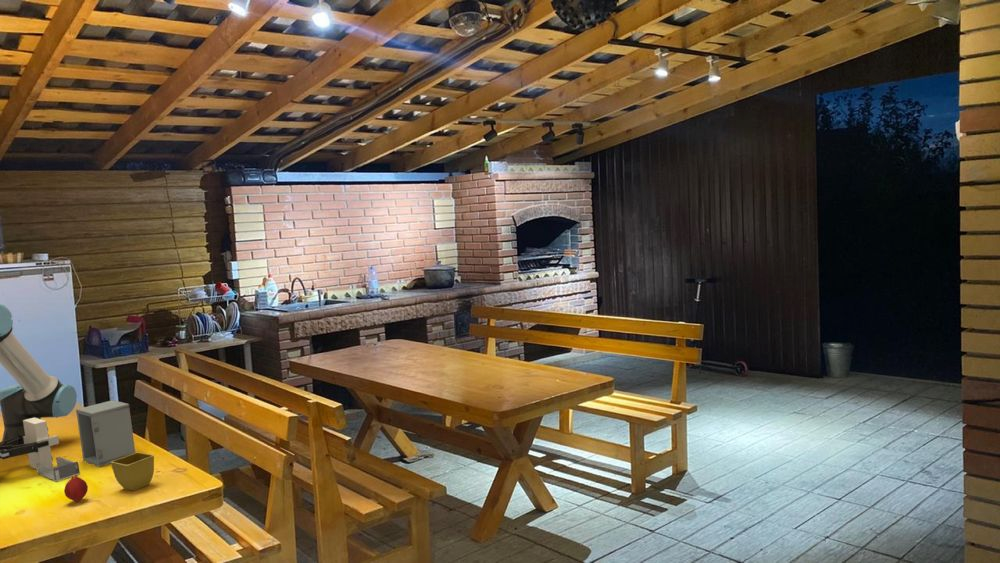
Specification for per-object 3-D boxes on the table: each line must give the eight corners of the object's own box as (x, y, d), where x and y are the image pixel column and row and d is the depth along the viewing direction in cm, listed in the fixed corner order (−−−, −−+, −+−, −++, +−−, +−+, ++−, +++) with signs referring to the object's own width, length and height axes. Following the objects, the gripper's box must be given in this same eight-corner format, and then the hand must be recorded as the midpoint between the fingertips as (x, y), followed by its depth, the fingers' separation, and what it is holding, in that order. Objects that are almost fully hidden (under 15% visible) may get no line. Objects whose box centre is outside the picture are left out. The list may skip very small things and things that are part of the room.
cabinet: (83, 461, 252) (75, 409, 250) (119, 450, 261) (112, 400, 259) (100, 467, 244) (92, 414, 242) (137, 456, 253) (130, 404, 251)
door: (29, 466, 251) (22, 420, 249) (42, 462, 254) (35, 417, 252) (41, 471, 245) (34, 424, 243) (54, 467, 248) (47, 420, 246)
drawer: (37, 473, 242) (36, 461, 242) (60, 466, 248) (58, 455, 247) (56, 481, 233) (54, 469, 233) (79, 474, 238) (78, 462, 238)
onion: (72, 498, 217) (68, 472, 216) (92, 496, 217) (89, 470, 217) (62, 506, 211) (58, 479, 210) (83, 504, 212) (79, 477, 211)
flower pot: (131, 495, 216) (126, 465, 215) (113, 490, 221) (109, 461, 220) (158, 484, 224) (154, 455, 223) (141, 480, 228) (137, 451, 227)
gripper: (-36, 463, 242) (39, 443, 259) (-11, 475, 228) (67, 452, 245) (-39, 441, 241) (36, 422, 258) (-15, 451, 227) (63, 430, 244)
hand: (51, 437), depth 251 cm, fingers closed on door, 10 cm apart
